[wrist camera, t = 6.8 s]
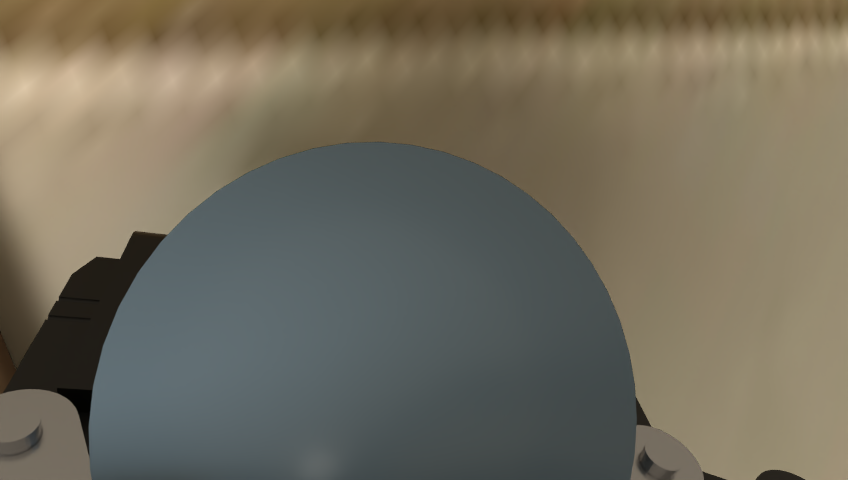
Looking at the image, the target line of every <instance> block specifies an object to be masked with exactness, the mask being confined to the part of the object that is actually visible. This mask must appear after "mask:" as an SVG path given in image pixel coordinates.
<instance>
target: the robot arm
mask: <svg viewBox="0 0 848 480" xmlns="http://www.w3.org/2000/svg"><path fill="white" fill-rule="evenodd" d="M166 236H167V235H165V234H156V233H147V232H138V231H135V232H134V233H133V234H132V236H131V238H130V240H129V242H128V244H127V246H126V248H125V250H124V252H123V254H122V256H121V258H120V259H113V258H104V257H96V258H94V259H93V260H91V261H90V262H89V263H87V264H86V265H84V266H83V267H82V268H80V269H79V270H77V271H76V272H75V273H73V274H72V275H71V277H70V279H69V280H68V282H67V284H66V285H65V287H64V289H63V291H62V292H61V294H60V296H59V301H56V303H55V304H54V306H53V308H52V310H51V311H50V313H49V315H48V320H45V322H44V323H43V325H42V327H41V328H40V330H39V332H38V334H37V335H36V337H35V339H34V341H33V342H32V344H31V346H30V347H29V349H28V351H27V353H26V354H25V356H24V358H23V359H22V361H21V363H20V365H19V366H18V368H17V370H16V371H15V373H14V375H13V377H12V378H11V380H10V382H9V384H8V385H7V387H6V389H5V390H4V392H3V393H2V394H0V480H92V478H91V472H90V454H89V420H90V411H91V401H92V392H93V384H94V380H95V376H96V372H97V368H98V364H99V360H100V356H101V352H102V349H103V345H104V342H105V340H106V337H107V335H108V332H109V330H110V327H111V325H112V322H113V320H114V317H115V315H116V312H117V310H118V307H119V306H120V304H121V302H122V300H123V298H124V297H125V295H126V293H127V291H128V290H129V288H130V286H131V284H132V282H133V281H134V279H135V277H136V275H137V273H138V272H139V271H140V269H141V268H142V267H143V265H144V264H145V263H146V261H147V260H148V259H149V257H150V256H151V255H152V253H153V252H154V251H155V249H156V248H157V247H158V245H159V244H160V243H161V241H162V240H163V239H164V238H165V237H166ZM636 414H637V424H636V442H635V455H634V461H633V467H632V473H631V479H630V480H726V479H723V478H720V477H717V476H714V475H711V474H708V473H705V472H703V471H702V470H701V467H700V465H699V463H698V462H697V460H696V459H695V457H694V456H693V454H692V453H691V452H690V451H689V450H688V449H687V448H686V447H685V446H684V445H683V444H682V443H681V442H679V441H678V440H677V439H675V438H674V437H672V436H671V435H669V434H667V433H665V432H663V431H661V430H659V429H656V428H653V427H651V425H650V423H649V421H648V419H647V417H646V416H645V414H644V412H643V410H642V408H641V406H640V404H639V402H638V400H637V398H636ZM756 480H805V479H803V478H801V477H799V476H797V475H794V474H792V473H789V472H786V471H781V470H768V471H765V472H763V473H761V474H760V475H759V476H758V477H757V479H756Z"/></svg>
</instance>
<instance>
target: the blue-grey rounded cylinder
mask: <svg viewBox="0 0 848 480" xmlns="http://www.w3.org/2000/svg"><path fill="white" fill-rule="evenodd" d="M636 424H637V414H636V396H635V383H634V377H633V372H632V366H631V360H630V354H629V350H628V347H627V343H626V340H625V336H624V333H623V329H622V326H621V323H620V320H619V317H618V315H617V313H616V310H615V308H614V305H613V303H612V301H611V298H610V296H609V294H608V291H607V289H606V288H605V286H604V284H603V282H602V281H601V279H600V277H599V275H598V273H597V272H596V270H595V268H594V266H593V265H592V263H591V262H590V260H589V259H588V257H587V256H586V255H585V253H584V252H583V251H582V249H581V248H580V246H579V245H578V244H577V242H576V241H575V239H574V238H573V237H572V236H571V235H570V234H569V233H568V232H567V230H566V229H565V228H564V227H563V226H562V225H561V224H560V223H559V222H558V221H557V220H556V219H555V217H554V216H553V215H552V214H551V213H549V212H548V211H547V210H546V209H545V208H544V207H542V206H541V205H540V204H539V203H538V202H537V201H535V200H534V199H533V198H532V197H531V196H530V195H528V194H527V193H525V192H524V191H522V190H521V189H519V188H518V187H516V186H515V185H513V184H512V183H510V182H509V181H507V180H506V179H504V178H503V177H501V176H499V175H497V174H495V173H493V172H491V171H489V170H487V169H485V168H483V167H481V166H479V165H477V164H475V163H473V162H471V161H468V160H465V159H462V158H459V157H456V156H454V155H451V154H448V153H445V152H442V151H437V150H433V149H428V148H424V147H419V146H415V145H407V144H396V143H385V142H364V143H344V144H338V145H332V146H326V147H319V148H313V149H310V150H306V151H303V152H300V153H296V154H293V155H290V156H286V157H283V158H280V159H277V160H275V161H273V162H271V163H268V164H266V165H264V166H262V167H259V168H257V169H255V170H252V171H250V172H248V173H246V174H245V175H243V176H241V177H240V178H238V179H236V180H235V181H233V182H231V183H230V184H228V185H226V186H225V187H223V188H221V189H220V190H218V191H216V192H215V193H214V194H213V195H211V196H210V197H209V198H208V199H206V200H205V201H204V202H203V203H201V204H200V205H199V206H198V207H196V208H195V209H194V210H193V211H191V212H190V213H189V214H188V215H187V216H186V217H185V218H184V219H183V220H182V221H181V222H180V223H179V224H178V225H177V226H176V227H175V228H174V229H173V230H172V231H171V232H170V233H169V234H168V235H167V236H166V237H165V238H164V239H163V240H162V241H161V243H160V244H159V245H158V247H157V248H156V249H155V251H154V252H153V253H152V255H151V256H150V257H149V259H148V260H147V261H146V263H145V264H144V265H143V267H142V268H141V269H140V271H139V272H138V273H137V275H136V277H135V279H134V281H133V282H132V284H131V286H130V288H129V290H128V291H127V293H126V295H125V297H124V298H123V300H122V302H121V304H120V306H119V307H118V310H117V312H116V315H115V317H114V320H113V322H112V325H111V327H110V330H109V332H108V335H107V337H106V340H105V342H104V345H103V349H102V352H101V356H100V360H99V364H98V368H97V372H96V376H95V380H94V384H93V392H92V401H91V411H90V420H89V454H90V472H91V478H92V480H630V479H631V473H632V467H633V461H634V455H635V442H636Z"/></svg>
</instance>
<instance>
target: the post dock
mask: <svg viewBox="0 0 848 480" xmlns="http://www.w3.org/2000/svg"><path fill="white" fill-rule="evenodd" d="M15 371H16V369H15V367H14V364H13V362H12V359H11V357H10V354H9V352H8V350H7V347H6V345H5V342H4V340H3V337H2V335H1V332H0V394H2V393H3V392H4V390H5V389H6V387H7V385H8V384H9V382H10V380H11V378H12V377H13V375H14V373H15Z"/></svg>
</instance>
